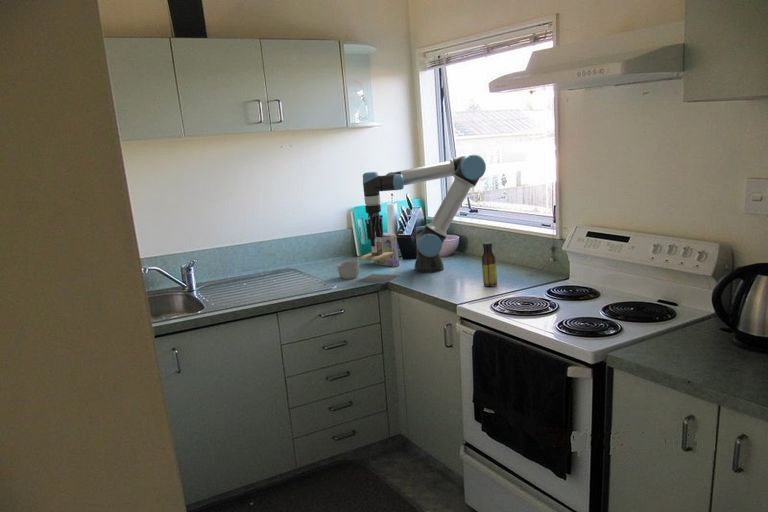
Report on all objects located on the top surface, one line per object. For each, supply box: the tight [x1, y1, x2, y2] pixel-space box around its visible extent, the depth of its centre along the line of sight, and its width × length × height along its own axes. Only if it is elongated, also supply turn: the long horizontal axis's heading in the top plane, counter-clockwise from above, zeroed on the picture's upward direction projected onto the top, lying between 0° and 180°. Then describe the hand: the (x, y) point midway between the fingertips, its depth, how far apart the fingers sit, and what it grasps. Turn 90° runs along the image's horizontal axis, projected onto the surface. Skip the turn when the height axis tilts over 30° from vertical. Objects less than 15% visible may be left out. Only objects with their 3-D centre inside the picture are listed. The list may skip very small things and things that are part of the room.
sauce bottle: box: [481, 241, 498, 287], centre depth 259 cm, size 7×6×20 cm
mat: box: [356, 273, 400, 285], centre depth 287 cm, size 16×16×1 cm
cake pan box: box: [373, 231, 400, 267], centre depth 316 cm, size 19×5×18 cm, turn 37°
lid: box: [358, 242, 395, 261], centre depth 284 cm, size 13×13×7 cm
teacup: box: [337, 260, 360, 280], centre depth 294 cm, size 14×11×8 cm
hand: (376, 251), depth 284 cm, fingers closed on lid, 4 cm apart
